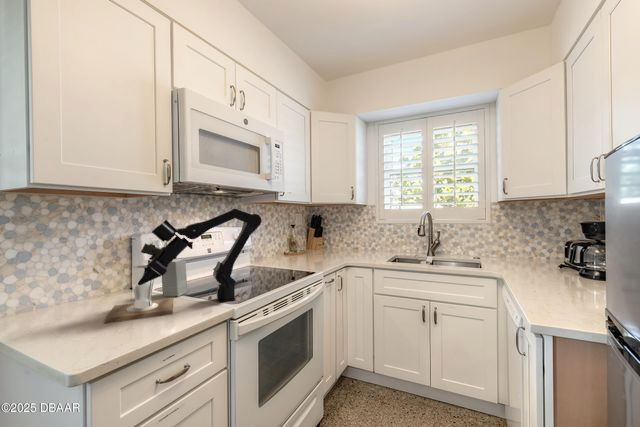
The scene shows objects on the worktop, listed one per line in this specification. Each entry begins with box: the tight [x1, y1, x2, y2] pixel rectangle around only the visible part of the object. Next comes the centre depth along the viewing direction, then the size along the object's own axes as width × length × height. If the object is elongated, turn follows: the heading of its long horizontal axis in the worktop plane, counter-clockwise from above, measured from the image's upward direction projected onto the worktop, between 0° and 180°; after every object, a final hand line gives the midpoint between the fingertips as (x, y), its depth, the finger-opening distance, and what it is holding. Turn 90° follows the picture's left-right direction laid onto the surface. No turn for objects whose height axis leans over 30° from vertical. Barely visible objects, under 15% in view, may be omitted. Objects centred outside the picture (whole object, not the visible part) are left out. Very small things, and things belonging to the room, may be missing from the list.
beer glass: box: [131, 264, 155, 310], centre depth 106 cm, size 7×7×15 cm
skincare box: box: [161, 258, 188, 297], centre depth 129 cm, size 8×7×16 cm
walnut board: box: [104, 298, 175, 324], centre depth 106 cm, size 20×16×2 cm
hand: (139, 281), depth 106 cm, fingers open, 9 cm apart
